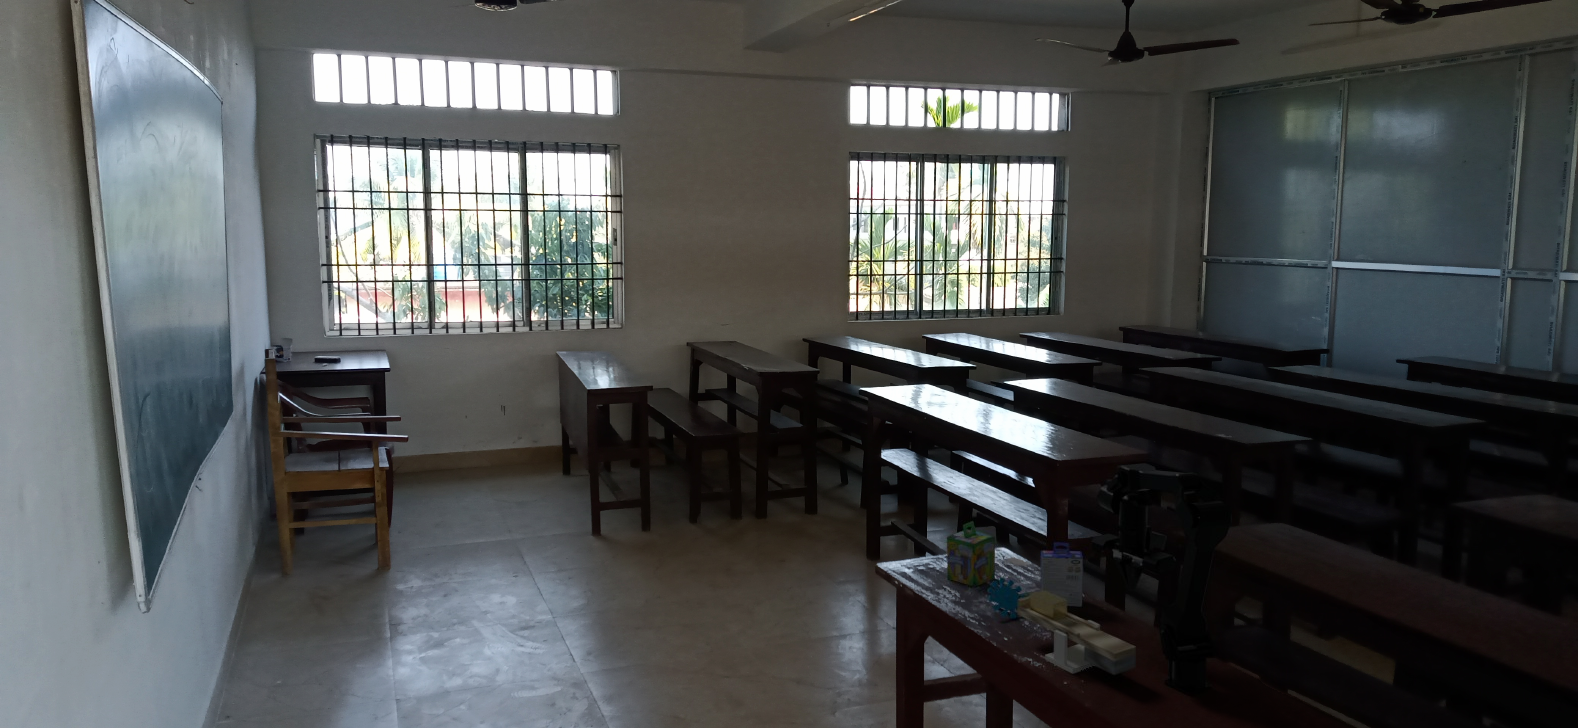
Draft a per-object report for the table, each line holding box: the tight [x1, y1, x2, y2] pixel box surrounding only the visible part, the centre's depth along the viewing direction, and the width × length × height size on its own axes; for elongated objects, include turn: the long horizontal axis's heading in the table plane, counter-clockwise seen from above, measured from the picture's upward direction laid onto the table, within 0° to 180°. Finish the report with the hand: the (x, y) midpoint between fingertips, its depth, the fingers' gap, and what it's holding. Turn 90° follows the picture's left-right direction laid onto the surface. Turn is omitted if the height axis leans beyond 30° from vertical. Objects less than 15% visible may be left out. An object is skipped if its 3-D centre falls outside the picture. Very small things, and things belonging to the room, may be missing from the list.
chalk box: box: [946, 520, 996, 588], centre depth 264 cm, size 9×9×15 cm
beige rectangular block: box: [1029, 590, 1068, 621], centre depth 223 cm, size 7×4×4 cm, turn 30°
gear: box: [987, 577, 1031, 620], centre depth 244 cm, size 11×6×10 cm
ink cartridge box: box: [1040, 541, 1084, 607], centre depth 247 cm, size 10×6×14 cm, turn 78°
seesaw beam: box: [1017, 596, 1137, 676], centre depth 217 cm, size 28×8×6 cm, turn 30°
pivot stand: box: [1044, 619, 1101, 675], centre depth 216 cm, size 8×10×7 cm
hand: (1131, 590), depth 223 cm, fingers closed
